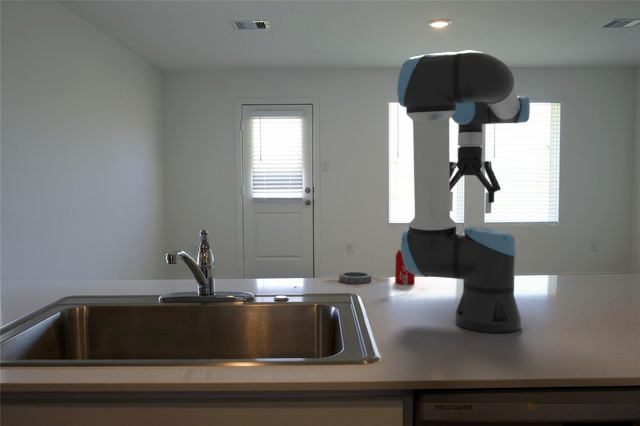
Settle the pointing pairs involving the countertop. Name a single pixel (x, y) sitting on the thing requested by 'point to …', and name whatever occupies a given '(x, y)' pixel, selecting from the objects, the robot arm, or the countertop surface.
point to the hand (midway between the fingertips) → (468, 212)
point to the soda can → (402, 272)
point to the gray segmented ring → (355, 277)
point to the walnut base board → (336, 281)
